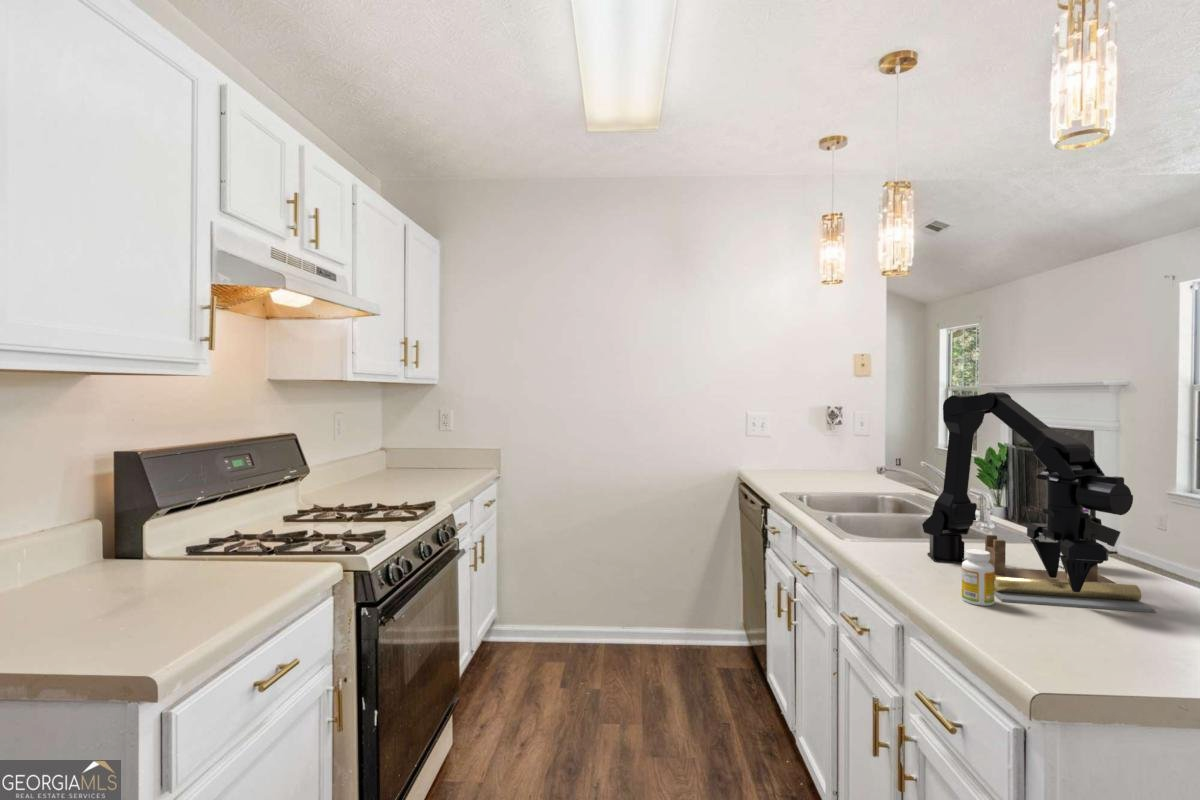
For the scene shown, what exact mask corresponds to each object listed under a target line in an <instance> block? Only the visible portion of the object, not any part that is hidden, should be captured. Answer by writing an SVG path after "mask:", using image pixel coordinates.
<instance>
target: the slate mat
mask: <svg viewBox="0 0 1200 800" xmlns="http://www.w3.org/2000/svg"><path fill="white" fill-rule="evenodd" d="M994 597H996V598H997V599H998V600H999V601H1000V602H1002V603H1015V602H1016V603H1018V604H1029V603H1030V604H1032V605H1045V606H1057V607H1058V606H1059V607H1060V606H1061V607H1071V606H1073V608H1074V607H1076V608H1085V607H1088V608H1089V609H1101V610H1114V611H1115V610H1116V611H1130V612H1141V613H1142V612H1144V613H1156V611H1157V610H1156V609H1155V608H1153V607H1151V606H1150V605H1148V604H1145V603H1144V602H1142V601H1141V600H1140V601H1128V600H1114V599H1099V598H1084V597H1070V596H1055V595H1040V594H1025V593H1011V592H996V591H995V590H994ZM1030 604H1029V605H1030ZM1088 608H1087V609H1088Z"/></svg>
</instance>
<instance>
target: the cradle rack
mask: <svg viewBox="0 0 1200 800" xmlns="http://www.w3.org/2000/svg"><path fill="white" fill-rule="evenodd" d="M984 535H985V539H984V541H985V543H984V544H985V545H984V546H985V548H984V551H987V552H989V553H990V561H989V563H990V564H992V565H993V566H994V576H1003V577H1019V578H1035V579H1051V580H1067V581H1068V578H1067V575H1066V572H1065V570H1063V571H1062V570H1058V572H1057V577H1056V578H1051V577H1049V575H1048V573H1047V571H1046V569H1031V568H1029V569H1028V568H1012V567H1006V546H1007V545H1006V540H1004V539H998V535H996V534H984ZM1098 565H1099V564H1096V565H1095V566H1093V567H1092V568H1091V569H1090V571H1089V573H1088V575H1087V577H1086V579H1085V581H1084V582H1099V583H1115V584H1117V582H1115V581H1113V580H1111V579H1109V578H1108V577H1105V576H1104V575H1102V574H1100V573H1098V569H1099V568H1098Z"/></svg>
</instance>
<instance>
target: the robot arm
mask: <svg viewBox="0 0 1200 800" xmlns="http://www.w3.org/2000/svg"><path fill="white" fill-rule="evenodd" d="M985 414H992V415H994V416H995V417H997V418H998V419H999V421H1001V422H1003V423H1004V424H1005V425H1006V426H1007V427H1008V428H1010V429H1011V430H1013V431H1014V432H1015V433H1016V434H1017V435H1018V436H1020V437H1021V438H1022V439H1024V440H1025V441H1026V442H1027V443H1028V444H1029V446H1031V448H1032V452H1033V455H1034V456H1035V457H1036V458H1037V460H1039V462H1040V463H1041V464H1042V465H1043V466H1044V467H1045V469H1044V470H1043V471H1041V472H1040V473H1038V474H1036V476H1035V478H1036V480H1043V481H1046V482H1047V483H1046V507H1045V506H1044V507H1042V512H1041V513H1043V514H1045V515H1046V523H1034V522H1032V523H1030V524H1029V525H1027V527H1026V536H1027V537H1029V538H1030V539H1029V541H1030V542H1031V544H1032V545H1033V547H1034V549H1035V551H1036V553H1037V555H1038V556H1039V559H1040V560H1041V562H1042V564H1043V567H1044V570H1046V571H1047V573H1048V575H1049V577H1051V578H1056V577H1057V572H1058V571H1059V560H1060V558H1061V561H1062V564H1063V566H1064V568H1063V569H1064V571H1065V572H1066V575H1067V578H1068V581H1069V584H1070V586H1071V589H1072V591H1073V592H1080V591H1081V588H1082V586H1083V584H1084V581H1085V579H1086V577H1087V575H1088V573H1089V571H1090V569H1091V568H1092V567H1093V566H1095V565H1096V564H1098V565H1099V564H1103V563H1104V562H1107V561H1109V550H1108V548H1107V547H1105V546H1104V545H1103V544H1102V543H1104V544H1107V546H1110V547H1113V548H1114V547H1115V546H1116V544H1117V541H1118V539H1119V537H1120V535H1121V532H1122V531H1119V530H1117V529H1115V528H1112V527H1109V526H1106V525H1103V524H1102V519H1101V518H1099V517H1095V516H1093V515H1091V514H1090V515H1089V514H1088V513H1086V512H1083V507H1084V508H1085V509H1089V510H1090V511H1093V512H1094V511H1096V512H1101V513H1107V514H1113V515H1116V516H1117V515H1118V516H1123V515H1127V513H1128V512H1129V511H1130V510H1131V508H1132V507H1133V504H1134V502H1133V501H1134V495H1133V494H1132V491H1131V489H1130V487H1129V486H1128V485H1127V484H1125V478H1124V477H1123V476H1115V475H1114V476H1109V475H1105V473H1104V472H1103V470H1102V469H1101V468H1100V466H1099V464H1097V462H1096V460H1095V459H1094V457H1093V456H1092V455H1091V449H1090V448H1089V446H1088V445H1087V444H1086V443H1084V442H1082V441H1081V440H1078V439H1076V438H1075V437H1073V436H1071V435H1068V434H1066V433H1062V432H1059V431H1057V430H1054V429H1052V428H1051V427H1049V426H1048V425H1047V424H1045V423H1044V422H1043V421H1042V420H1040V418H1038V417H1037V416H1035V415H1034V414H1032V413H1031V412H1030V411H1028V410H1027V409H1026V408H1025V407H1024V406H1022V405H1021V404H1019V403H1018V402H1017V401H1016V400H1014V399H1012V396H1011V395H1010V394H1008V393H1006V392H1002V391H1001V392H1000V391H999V392H998V391H997V392H994V391H993V392H991V391H989V392H986V393H983V394H976V395H974V394H973V395H950V396H949V397H948V398H946V399H945V400H944V401H943V405H942V416H943V417H942V418H943V419H942V420H943V423H944V424H945V427H946V429H947V430H948V440H947V441H948V443H947V452H946V460H945V461H946V462H945V470H944V480H943V481H944V482H943V489H942V492H941V493H940V495H939V496H938V497H937V499H936V500H935V502H934V504H933V505H934V506H933V509H932V513H931V515H929V517H927V518H926V519H925V521H924V522H923V523H921V525H922V530H923V533H924V534H927V535H929V552H927V556H928V557H929V558H930V559H931V560H933V562H938V563H939V562H941V563H955V564H956V563H957V564H958V563H959V564H962V563H963V562H964V561H965V560H964V559H965V542H964V540H963V536H962V535H968V533H969V530H970V528H971V527H972V526H973V524H974V521H977V518H976V512H977V508H978V505H977V503H975V502H972V501H971V499H970V497H969V495H968V493H969V481H970V472H971V463H972V454H973V453H972V451H973V444H974V436H975V434H976V432H977V431H978V429H979V428H980V427H981V425H982V424H983V422H984V417H985ZM1092 539H1094V540H1096V541H1100V542H1102V543H1099V542H1096V541H1094V540H1092ZM1060 553H1062V555H1060Z"/></svg>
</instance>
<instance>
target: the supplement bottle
mask: <svg viewBox="0 0 1200 800" xmlns="http://www.w3.org/2000/svg"><path fill="white" fill-rule="evenodd" d="M965 557H966V560H964V562H963V563H961V599H962V601H964V602H965V603H968V604H971V605H974V606H983V607H987V606H992V605H994V604H995V595H994V566H993V565H992V564H990V563H989V561H990V553H989V552H987V551H985V549H974V548H971V549H970V548H969V549H966V550H965Z"/></svg>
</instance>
